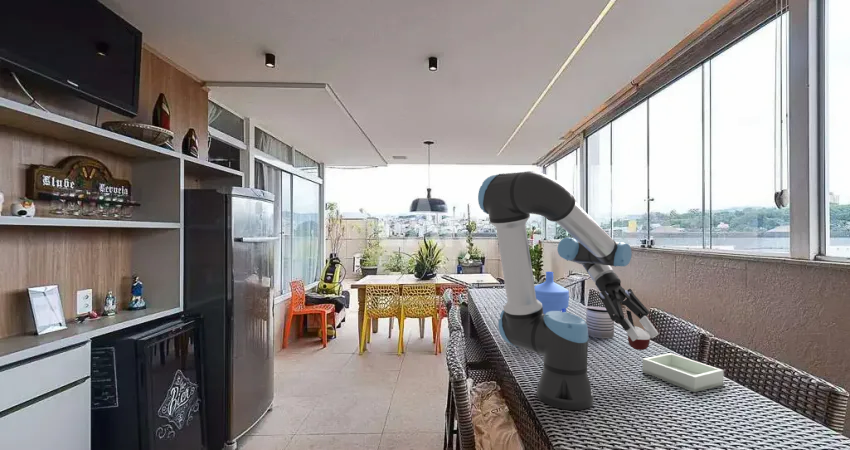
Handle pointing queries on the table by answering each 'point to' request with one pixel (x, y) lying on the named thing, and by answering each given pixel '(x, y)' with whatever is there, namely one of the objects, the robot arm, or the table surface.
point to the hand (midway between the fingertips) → (645, 337)
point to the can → (599, 322)
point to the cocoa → (644, 337)
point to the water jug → (552, 295)
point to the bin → (683, 372)
